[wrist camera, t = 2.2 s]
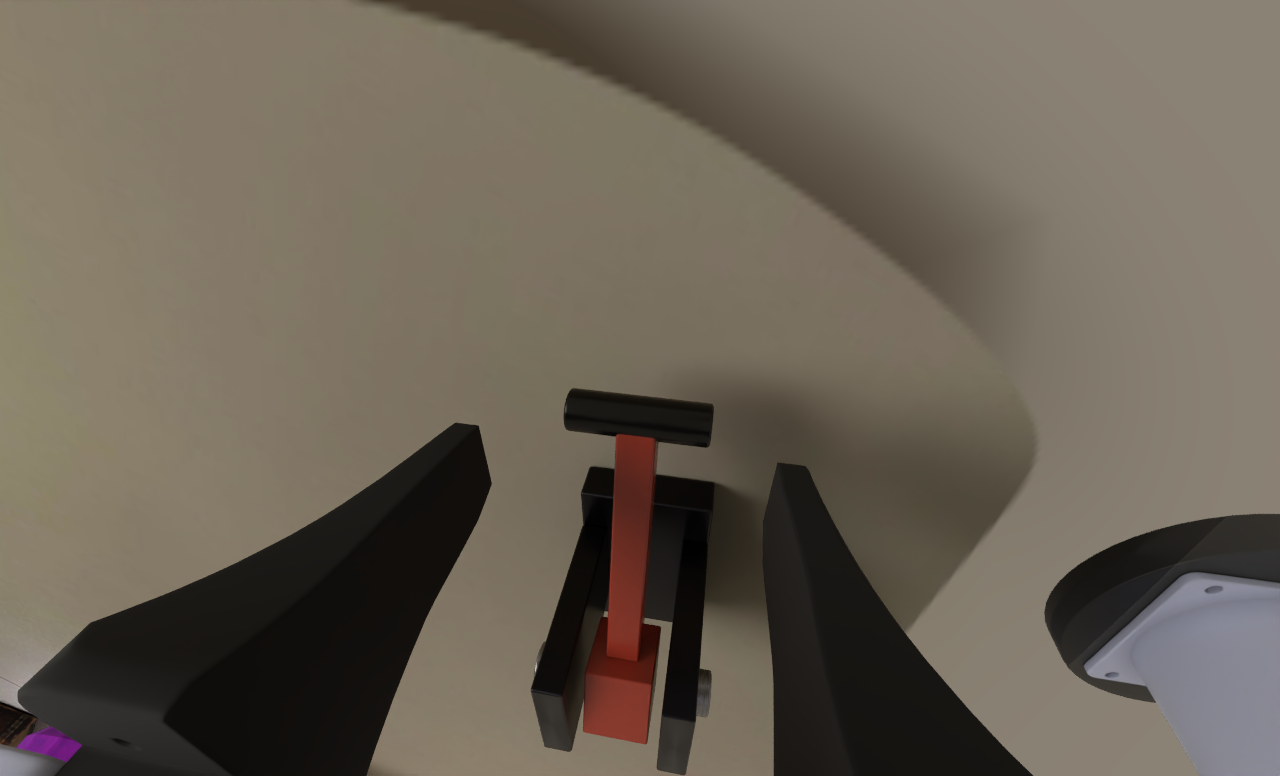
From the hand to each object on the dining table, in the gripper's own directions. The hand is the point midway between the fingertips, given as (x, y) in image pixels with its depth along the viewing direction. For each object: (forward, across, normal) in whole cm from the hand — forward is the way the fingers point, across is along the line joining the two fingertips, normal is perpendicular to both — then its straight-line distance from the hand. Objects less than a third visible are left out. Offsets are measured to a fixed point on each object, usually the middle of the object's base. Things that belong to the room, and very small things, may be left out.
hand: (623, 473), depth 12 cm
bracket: (+6, 0, +10) cm, 11 cm away
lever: (+2, 0, +6) cm, 6 cm away
